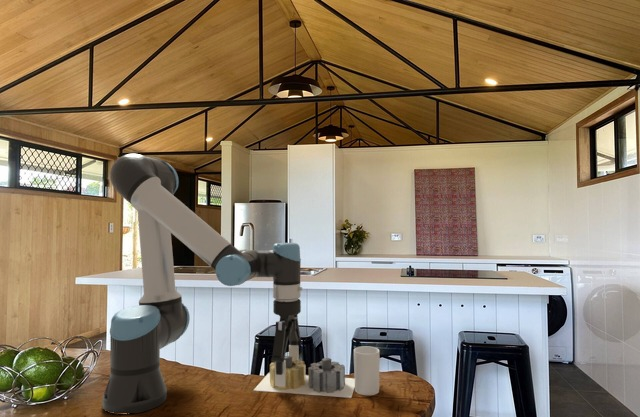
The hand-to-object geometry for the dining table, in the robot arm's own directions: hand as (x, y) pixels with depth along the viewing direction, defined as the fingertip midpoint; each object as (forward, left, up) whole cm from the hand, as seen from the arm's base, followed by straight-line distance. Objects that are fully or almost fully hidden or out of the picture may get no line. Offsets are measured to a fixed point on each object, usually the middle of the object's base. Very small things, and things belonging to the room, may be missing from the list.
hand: (287, 376), depth 118 cm
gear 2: (+11, 0, -2) cm, 11 cm away
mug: (+22, 0, -3) cm, 22 cm away
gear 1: (0, 0, -2) cm, 2 cm away
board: (+6, 0, -3) cm, 6 cm away
